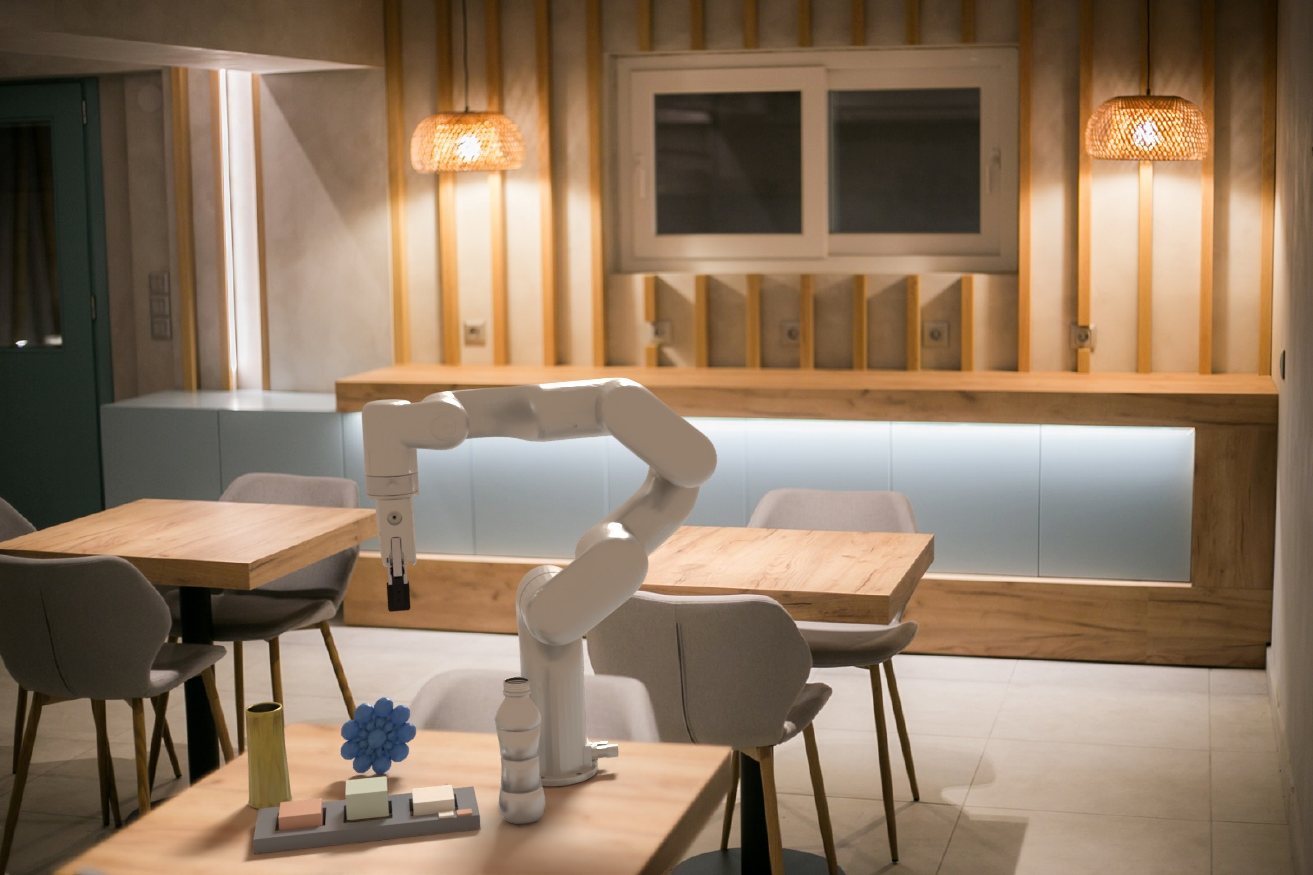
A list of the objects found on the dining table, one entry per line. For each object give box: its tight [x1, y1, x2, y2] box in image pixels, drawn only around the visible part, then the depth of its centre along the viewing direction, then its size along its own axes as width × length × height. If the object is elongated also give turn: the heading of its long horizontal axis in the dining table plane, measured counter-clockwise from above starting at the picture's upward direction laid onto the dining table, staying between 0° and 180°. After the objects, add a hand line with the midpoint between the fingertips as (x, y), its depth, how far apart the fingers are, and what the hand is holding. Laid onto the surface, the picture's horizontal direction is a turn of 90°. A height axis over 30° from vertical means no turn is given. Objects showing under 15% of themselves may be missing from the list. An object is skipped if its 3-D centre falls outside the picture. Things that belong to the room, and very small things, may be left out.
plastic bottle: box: [494, 676, 547, 825], centre depth 198 cm, size 6×7×20 cm
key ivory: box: [411, 784, 456, 816], centre depth 201 cm, size 6×6×4 cm
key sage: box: [345, 776, 390, 821], centre depth 199 cm, size 6×6×4 cm
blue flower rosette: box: [340, 696, 417, 775], centre depth 220 cm, size 12×7×12 cm, turn 93°
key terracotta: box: [278, 797, 325, 830], centre depth 197 cm, size 6×6×4 cm
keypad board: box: [252, 785, 481, 855], centre depth 199 cm, size 30×11×2 cm, turn 102°
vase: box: [245, 701, 293, 810], centre depth 208 cm, size 6×6×14 cm
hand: (399, 609), depth 210 cm, fingers closed
